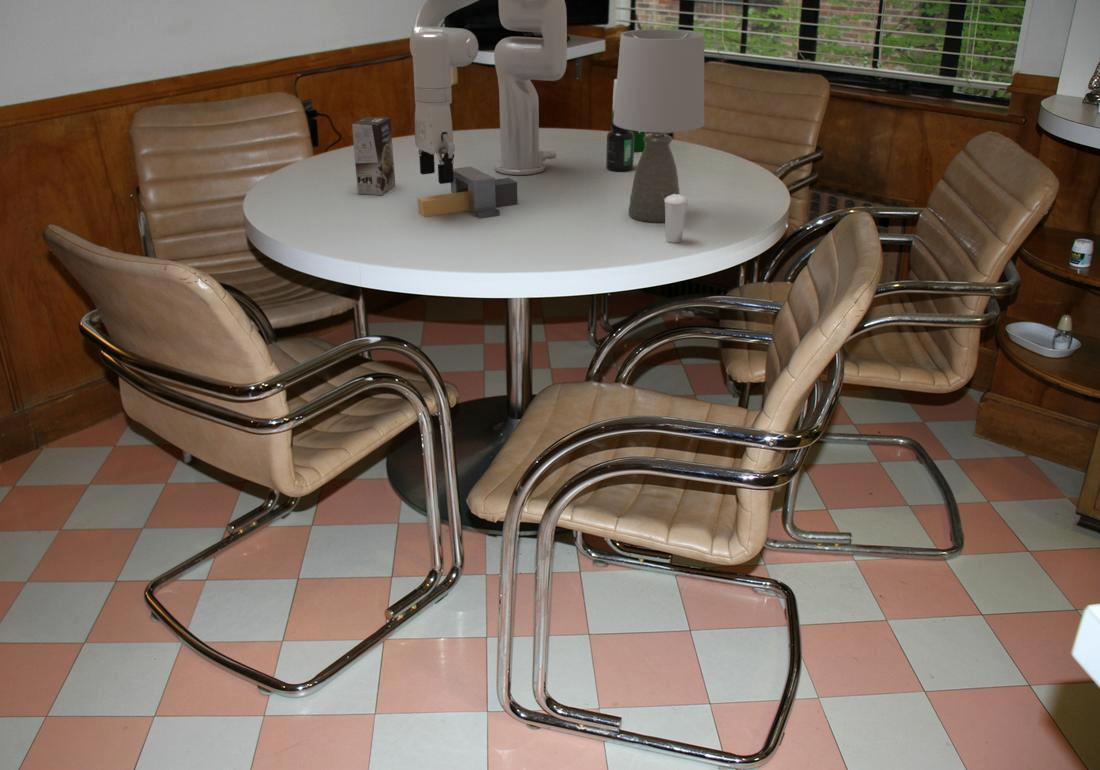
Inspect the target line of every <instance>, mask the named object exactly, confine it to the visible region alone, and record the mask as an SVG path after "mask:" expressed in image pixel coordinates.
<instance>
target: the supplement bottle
mask: <svg viewBox="0 0 1100 770" xmlns="http://www.w3.org/2000/svg"><path fill="white" fill-rule="evenodd" d="M610 129H611V130H610V131H608V132H607V134H606V156H605V157H606V160H605V164H606V169H607V170H608V171H610V172H617V173H619V172H620V173H623V172H630V171H632V170H633V169H634V158H635V156H634V155H635V152H634V134H633V132H632V131H630V130H627V129H623V128H620V127H618V126H616V125H614V123H613V120H612V119H611V120H610Z"/></svg>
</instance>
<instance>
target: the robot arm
mask: <svg viewBox="0 0 1100 770" xmlns="http://www.w3.org/2000/svg"><path fill="white" fill-rule="evenodd" d="M478 1H479V0H423V1H422V3H421V4H420V6H419V7H418V10H417V12H416V16H415V19H414V22H413V26H412V29H411V31H410V38H409V50H410V54H411V57H412V66H413V83H414V84H413V85H414V104H415V111H414V145H415V146H416V148H417V149H418V156H419V173H420V174H421V175H430V174H435V172H436V169H435V168H436V167H435V154H436V156H437V159H438V163H439V164H437V173H438V174H437V177H438V178H437V179H438V180H437V181H438V184H440V185H443V184H444V185H445V184H451V183H452V182H453V181H454V178H453V169H454V163H455V162H454V159H455V150H456V145H455V144H454V135H453V133H454V131H453V121H452V112H451V106H450V104H452V103H453V101H452V100H453V99H452V72H451V67H467V66H468V65H471V64H472V63H473V62H474V61H475V60H476V59H477V56H478V53H479V42H478V39H477V37H476V35H475V34H474V33H473V32H472V31H470V30H469V29H465V28H460V27H459V28H458V27H447V26H445V27H444V26H439V25H440V24H441V22H442V21H444V19H445V18H447V16H449V15H450V14H452V13H453V12H456V11H458V10H460V9H462V8H464V7H467V6H469V5H472V4H473V3H474V4H475V3H476V2H478ZM567 15H568V14H567V6H566V1H565V0H498V16H499V20H500V24H501V26H502V27H503V28H504V29H506V30H508V31H515V32H527V33H528V32H529V33H541V34H542V37H532V36H509V37H504V38H502V39H501V40H500V41H498V43H497V44H496V45H495V48H494V52H493V58H494V60H493V61H494V67H495V70H496V71H495V72H496V75H497V81H498V93H499V94H498V97H499V127H500V131H499V133H500V137H499V138H500V161H498V162H496V163H495V164H494V170H495V171H496V172H498V173H500V174H503V175H504V174H505V175H513V176H526V175H535V174H539V173H542V172H543V171H545V169H546V164H545V161H546V160H554V159H556V158H557V152H556V150H549V151H547V150H541V149H540V146H539V145H540V142H539V141H540V134H539V131H540V130H539V129H540V127H539V124H540V122H539V121H540V120H539V113H540V112H539V106H540V105H539V104H540V103H539V94H538V92H537V89H536V88H535V86H534V84H533V83H532V81H531V80H535V81H550V82H554V81H559V80H561V78H563V76H564V74H565V72H566V71H567V70H566V69H567V63H568V61H567V60H568V41H567V40H568V34H567V32H568V29H567V28H568V25H567V24H568V23H567V22H568V21H567V19H568V18H567V17H568V16H567Z"/></svg>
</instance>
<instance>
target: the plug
mask: <svg viewBox="0 0 1100 770" xmlns="http://www.w3.org/2000/svg"><path fill="white" fill-rule="evenodd" d="M518 200H519V199H518V181H516V180H514V179H512V178H511V177H505V178H497V179H496V178H495V201H496V208H501V207H502V208H503V207H508V206H513V205H518V204H519V203H518ZM417 208H418V210H417V211H418V214H419V215H420V216H422V217H423V218H425V217H426V218H427V217H434V216H440V215H447V214H454V213H462V212H468V211H469V191H465V192H458V193H451V192H450V193H444V194H437V195H430V196H424V197H423V196H422V197H417Z"/></svg>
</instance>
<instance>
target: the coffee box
mask: <svg viewBox="0 0 1100 770" xmlns="http://www.w3.org/2000/svg"><path fill="white" fill-rule="evenodd" d="M351 127H352V128H351V130H352V140H353V141H352V142H353V151H354V154H353V155H354V164H355V165H354V166H355V177H356V188H357V190H356V191H357V194H358V195H373V196H384V195H385V194H386V193H387V192H389V191H390V190H391V189H392V188H394V187H396V173H395V162H394V160H395V159H394V149H393V148H394V147H393V135H392V134H393V133H392V122H391V117H387V116H386V117H385V116H373V117H372V116H371V117H370V116H369V117H368V116H365V117H363V118H361V119H359V120H357V121H355V122H353V123H352V124H351Z"/></svg>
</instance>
